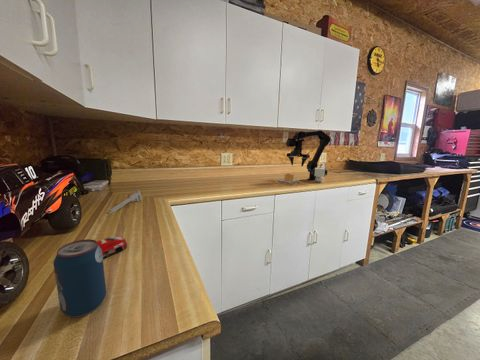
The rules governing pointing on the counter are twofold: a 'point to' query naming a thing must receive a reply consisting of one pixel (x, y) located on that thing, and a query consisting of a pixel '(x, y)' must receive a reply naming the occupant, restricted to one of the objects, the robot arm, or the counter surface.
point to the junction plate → (288, 181)
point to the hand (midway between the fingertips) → (296, 165)
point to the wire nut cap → (289, 177)
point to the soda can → (80, 277)
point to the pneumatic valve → (319, 173)
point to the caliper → (131, 198)
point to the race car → (112, 245)
